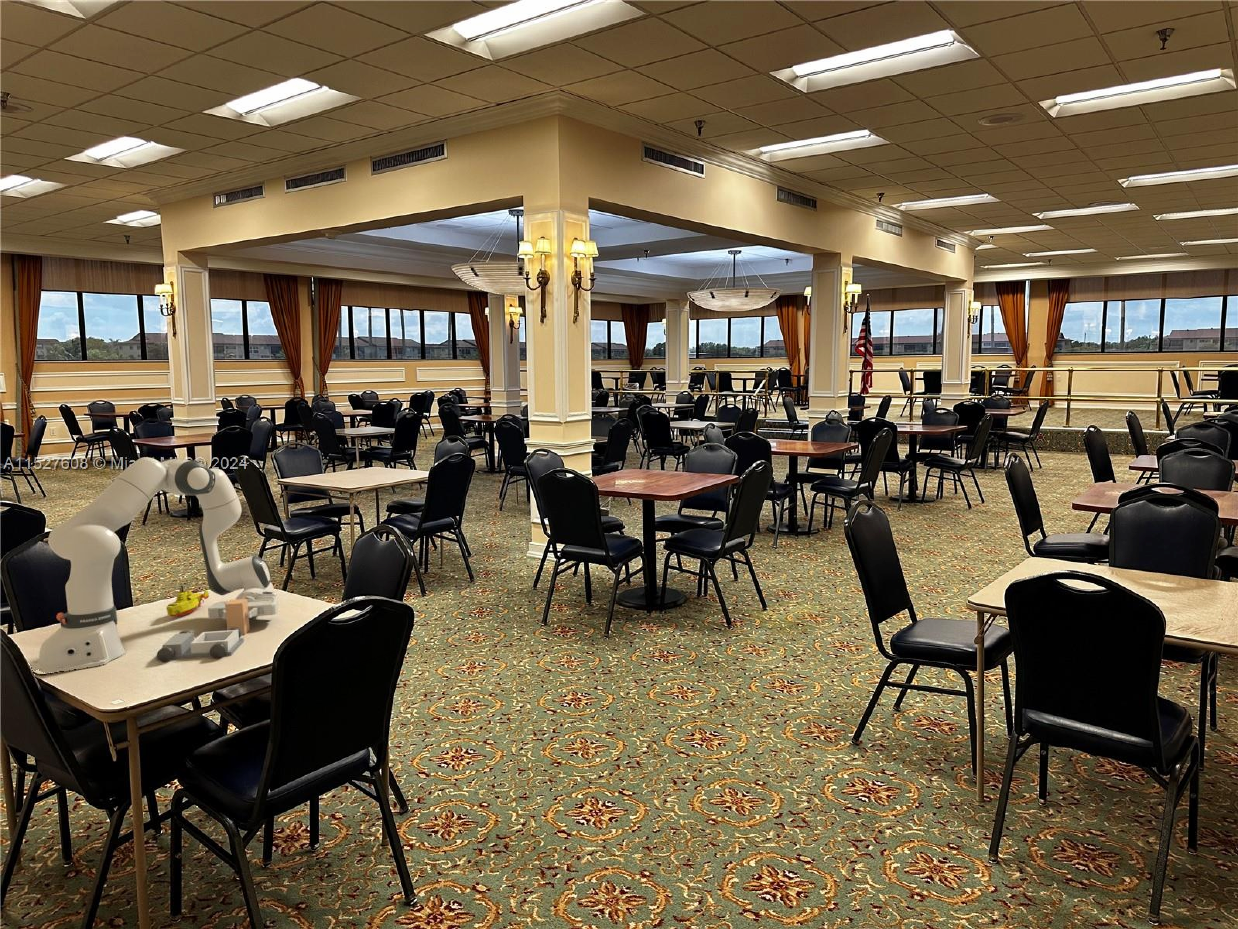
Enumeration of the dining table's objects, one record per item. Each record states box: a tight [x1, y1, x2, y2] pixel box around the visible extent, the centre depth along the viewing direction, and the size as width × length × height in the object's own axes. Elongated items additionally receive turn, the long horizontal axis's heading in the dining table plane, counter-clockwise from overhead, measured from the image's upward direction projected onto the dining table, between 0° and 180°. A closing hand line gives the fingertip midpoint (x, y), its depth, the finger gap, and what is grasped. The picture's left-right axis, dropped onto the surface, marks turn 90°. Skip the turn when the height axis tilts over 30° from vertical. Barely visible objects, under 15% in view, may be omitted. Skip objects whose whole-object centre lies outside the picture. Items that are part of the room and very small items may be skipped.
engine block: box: [225, 598, 251, 636], centre depth 255 cm, size 5×5×10 cm
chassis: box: [155, 627, 245, 663], centre depth 240 cm, size 20×16×4 cm
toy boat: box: [165, 585, 210, 617], centre depth 277 cm, size 6×18×10 cm, turn 174°
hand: (236, 616), depth 254 cm, fingers closed on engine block, 5 cm apart
